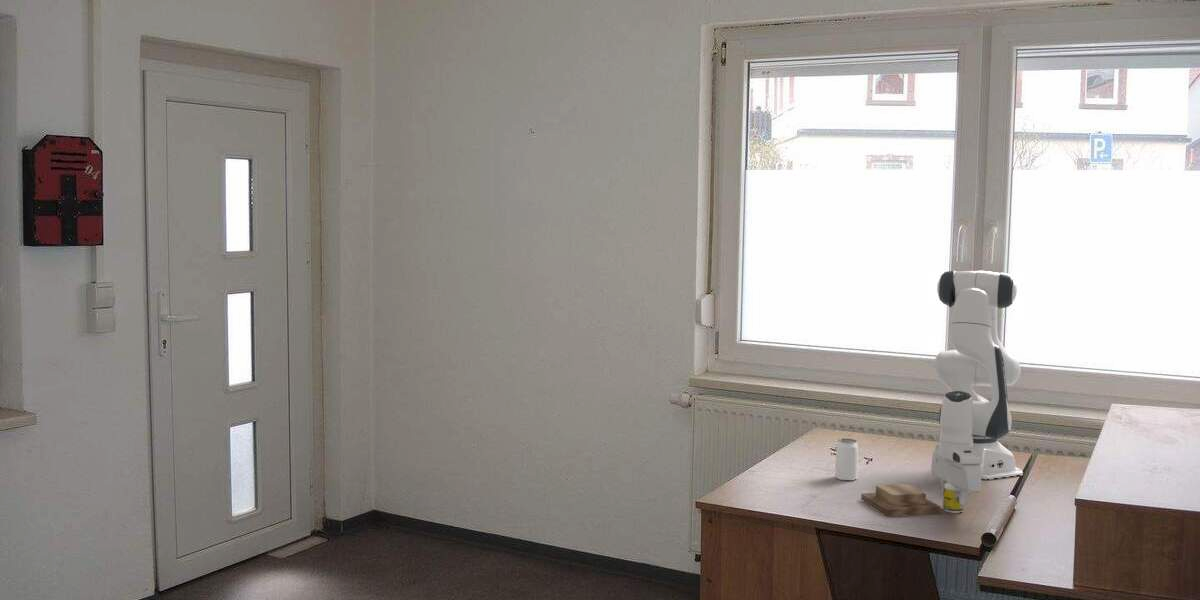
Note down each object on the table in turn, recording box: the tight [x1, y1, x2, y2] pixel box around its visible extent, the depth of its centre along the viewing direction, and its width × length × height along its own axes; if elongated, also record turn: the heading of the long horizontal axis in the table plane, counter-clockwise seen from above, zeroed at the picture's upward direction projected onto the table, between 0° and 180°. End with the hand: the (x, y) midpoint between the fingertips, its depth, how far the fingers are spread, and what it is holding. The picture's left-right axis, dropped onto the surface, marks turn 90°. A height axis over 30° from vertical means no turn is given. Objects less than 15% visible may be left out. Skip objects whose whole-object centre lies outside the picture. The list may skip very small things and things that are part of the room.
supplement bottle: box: [942, 476, 965, 514], centre depth 290 cm, size 5×5×10 cm
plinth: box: [860, 483, 942, 517], centre depth 293 cm, size 16×16×5 cm
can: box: [835, 438, 859, 481], centre depth 323 cm, size 6×6×12 cm
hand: (953, 499), depth 290 cm, fingers open, 6 cm apart
